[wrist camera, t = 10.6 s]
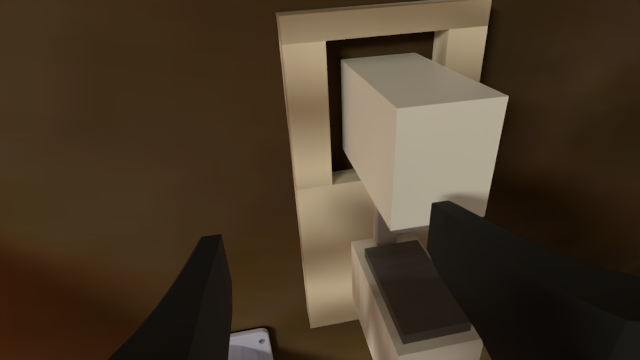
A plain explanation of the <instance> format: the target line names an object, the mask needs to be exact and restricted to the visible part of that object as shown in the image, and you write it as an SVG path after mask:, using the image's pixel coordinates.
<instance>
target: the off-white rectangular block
mask: <svg viewBox="0 0 640 360" xmlns="http://www.w3.org/2000/svg"><path fill="white" fill-rule="evenodd" d="M341 94H342V143H343V150H344V152H345V154H346V155H347V157H348V159H349V161H350V162H351V164H352V166H353V167H354V169H355V171H356V173H357V174H358V176H359V178H360V179H361V181H362V183H363V185H364V186H365V188H366V190H367V191H368V193H369V195H370V197H371V198H372V200H373V202H374V203H375V205H376V207H377V209H378V210H379V212H380V214H381V216H382V217H383V219H384V221H385V222H386V224H387V226H388V228H389V229H390V231H393V232H394V233H395V234H399V233H405V232H412V231H418V230H424V229H429V222H430V213H431V205H432V203H434V202H440V201H447V200H448V201H451V202H453V203H455V204H457V205H459V206H461V207H463V208H465V209H467V210H469V211H471V212H473V213H475V214H477V215H478V216H480V217H483V216H485V211H486V206H487V201H488V196H489V191H490V186H491V181H492V176H493V171H494V166H495V161H496V156H497V151H498V146H499V141H500V136H501V131H502V126H503V121H504V116H505V111H506V106H507V102H508V97H509V96H507V95H505V94H503V93H501V92H498V91H496V90H494V89H492V88H490V87H488V86H486V85H483V84H481V83H479V82H477V81H475V80H473V79H471V78H468V77H466V76H464V75H462V74H460V73H458V72H455V71H453V70H451V69H449V68H447V67H445V66H443V65H440V64H438V63H436V62H434V61H432V60H430V59H427V58H425V57H423V56H421V55H419V54H417V53H407V54H396V55H385V56H374V57H363V58H352V59H341Z"/></svg>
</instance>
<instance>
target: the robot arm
mask: <svg viewBox="0 0 640 360" xmlns="http://www.w3.org/2000/svg"><path fill="white" fill-rule="evenodd" d="M426 249H427V251H428V254H429V256H430V258H431V260H432V262H433V264H434V266H435V268H436V270H437V272H438V274H439V276H440V277H441V279H442V280H443V282H444V283H445V285H446V286H447V288H448V289H449V291H450V292H451V294H452V295H453V297H454V298H455V300H456V301H457V303H458V304H459V306H460V307H461V309H462V310H463V312H464V313H465V315H466V316H467V318H468V319H469V321H470V322H471V324H472V325H473V327H474V328H475V330H476V332H477V333H478V335H479V337H480V338H481V340H482V342H483V344H484V346H485V348H486V349H487V351H488V353H489V355H490V357H491V359H492V360H640V277H636V276H632V275H628V274H624V273H620V272H617V271H613V270H609V269H606V268H603V267H599V266H596V265H593V264H590V263H586V262H583V261H580V260H577V259H574V258H571V257H569V256H566V255H563V254H561V253H558V252H555V251H553V250H550V249H548V248H545V247H543V246H540V245H538V244H536V243H533V242H531V241H529V240H527V239H525V238H522V237H520V236H518V235H516V234H514V233H512V232H510V231H508V230H506V229H504V228H502V227H500V226H498V225H496V224H494V223H492V222H490V221H488V220H486V219H484V218H482V217H480V216H478V215H477V214H475V213H473V212H471V211H469V210H467V209H465V208H463V207H461V206H459V205H457V204H455V203H453V202H451V201H448V200H447V201H440V202H434V203H432V205H431V213H430V222H429V231H428V239H427V248H426ZM231 321H232V281H231V277H230V272H229V268H228V263H227V258H226V254H225V249H224V245H223V240H222V235H221V234H218V235H212V236H205V237H201V239H200V240H199V241H198V243H197V245H196V247H195V249H194V250H193V252H192V254H191V256H190V257H189V259H188V261H187V262H186V264H185V266H184V267H183V269H182V270H181V272H180V273H179V275H178V277H177V278H176V280H175V281H174V283H173V284H172V286H171V287H170V288H169V290H168V291H167V293H166V294H165V295H164V297H163V298H162V299H161V301H160V302H159V304H158V305H157V306H156V307H155V309H154V310H153V311H152V313H151V314H150V315H149V316H148V317H147V319H146V320H145V321H144V322H143V323H142V324H141V326H140V327H139V328H138V329H137V330H136V331H135V332H134V334H133V335H132V336H131V337H130V338H129V339H128V340H127V341H126V342H125V343H124V344H123V345H122V346H121V347H120V348H119V349H118V350H117V351H116V352H115V353H114V354H113V355H112V356H111V357H110V358H109V359H108V360H273V355H272V349H271V344H270V338H269V333H268V330H267V329H265V328H258V329H253V330H248V331H243V332H238V333H232V334H230V332H231Z"/></svg>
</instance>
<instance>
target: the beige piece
mask: <svg viewBox="0 0 640 360" xmlns="http://www.w3.org/2000/svg"><path fill="white" fill-rule="evenodd" d="M491 2H492V0H426V1H414V2H401V3H389V4H377V5H364V6H352V7H340V8H328V9H315V10H303V11H291V12H279V13H276V17H277V26H278V36H279V45H280V55H281V64H282V74H283V83H284V93H285V102H286V112H287V121H288V131H289V140H290V150H291V159H292V169H293V178H294V188H295V197H296V207H297V216H298V226H299V235H300V245H301V254H302V264H303V273H304V283H305V292H306V302H307V311H308V316H309V321H310V326H311V328H315V327H320V326H325V325H331V324H336V323H341V322H346V321H351V320H356V319H359V320H360V323H361V326H362V329H363V332H364V335H365V338H366V341H367V344H368V346H369V349H370V352H371V355H372V358H373V360H479V359H480V355H481V351H482V347H483V342H482V340H481V338H480V337H479V335H478V333H477V332H476V330H475V328H474V327H473V325H472V324H471V322H470V321H469V319H468V318H467V316H466V315H465V313H464V312H463V310H462V309H461V307H460V306H459V304H458V303H457V301H456V300H455V298H454V297H453V295H452V294H451V292H450V291H449V289H448V288H447V286H446V285H445V283H444V282H443V280H442V279H441V277H440V276H439V274H438V272H437V270H436V268H435V266H434V264H433V262H432V260H431V258H430V256H429V254H428V251H427V249H426V248H427V239H428V231H429V229H424V230H418V231H412V232H405V233H399V234H395V233H394V232H393V231H390V229H389V228H388V226H387V224H386V222H385V221H384V219H383V217H382V216H381V214H380V212H379V210H378V209H377V207H376V205H375V203H374V202H373V200H372V198H371V197H370V195H369V193H368V191H367V190H366V188H365V186H364V185H363V183H362V181H361V179H360V178H359V176H358V174H357V173H356V171H355V169H348V170H341V171H334V172H332V164H331V142H330V121H329V100H328V79H327V58H326V41H330V40H341V39H352V38H363V37H373V36H384V35H395V34H406V33H416V32H427V31H435V32H434V44H433V55H432V61H434V62H436V63H438V64H440V65H443V66H445V67H447V68H449V69H451V70H453V71H455V72H458V73H460V74H462V75H464V76H466V77H468V78H471V79H473V80H475V81H477V82H479V81H480V75H481V68H482V62H483V55H484V48H485V42H486V35H487V29H488V22H489V15H490V9H491Z"/></svg>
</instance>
